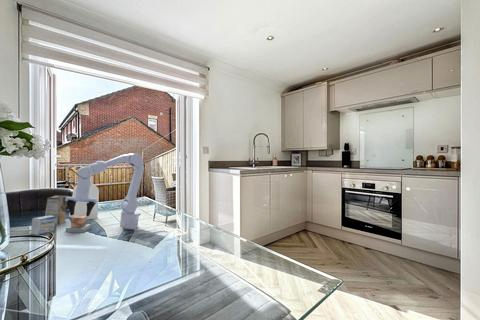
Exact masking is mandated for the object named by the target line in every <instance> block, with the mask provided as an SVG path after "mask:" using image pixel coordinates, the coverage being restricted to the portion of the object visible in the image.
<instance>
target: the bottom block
mask: <svg viewBox="0 0 480 320" xmlns="http://www.w3.org/2000/svg"><path fill="white" fill-rule="evenodd" d="M87 232H88V230H86V231H84V232H83V233H82V234H85V233H87ZM68 234H81V233H80V232H68Z"/></svg>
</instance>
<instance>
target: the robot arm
mask: <svg viewBox="0 0 480 320" xmlns="http://www.w3.org/2000/svg"><path fill="white" fill-rule="evenodd" d="M143 159H144V158H143V157H142V156H141V155H140V154H138V153H132V152H129V153H125V154H121V155H119V156H115V157H114V158H111V159H109V160H107V161H104V160H96V161H95V162H94V163H93V162H92V163H91V164H86V166H81V167H79V168H78V170H77V171H76V174H77V175H78V177H77V181H76V185H77V188H76V197H72V196H68V197H66V199H65V201H67V202H66V204H67V209H69V212H70V215H74V210H75V205H76V202H77V201H79V202H89V203H87V213H86V216H90V213H91V210H92V208H93V207H94V205H95V204H96V203H97V200H98V199H96V198H89V188H90V177H91V178H92V177H93V175H97V174H99V173H103V172H105V171H107V169H108V168H109V167H112V166H115V165H118V164H121V163H127V164H129V165H131V167H132V169H133V174H132V177H131V181H130V184H129V188H128V189H127V190H128V192H127V195H126V196H125V197H124V200H122V202H121V204H120V207H121V209H122V210H121V213H120V222H119V226H120V227H121V228H122V229H123V230H136V228H137V227H138V226H139V218H140V217H139V216H140V214H139V213H138V212H136V211H137V203H138V199H137V195H138V193H139V188H140V185H141V182H142V178H143V175H144V171H145V166H144V162H143Z"/></svg>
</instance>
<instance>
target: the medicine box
mask: <svg viewBox="0 0 480 320" xmlns="http://www.w3.org/2000/svg"><path fill="white" fill-rule="evenodd" d="M55 227H56V226H55V216H52V215H48V216H45V215H44V216H38V217H33V218H32V219H31V227H30V228H31V229H30V235H35V236H39V235H43V234H47V233H51V232H54V231H55Z"/></svg>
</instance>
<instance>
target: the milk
mask: <svg viewBox="0 0 480 320" xmlns="http://www.w3.org/2000/svg"><path fill="white" fill-rule="evenodd" d="M76 188H77V184H76V185H75V186H74V187H73V190H72V195H71V197H76ZM99 195H100V188H99V187H97V186H96V184H94V183H93V182H92V176H91V177H90V188H89V198H96V199H98V200H97V203H96V204H95V205H94V207H93V208H92V210H91V213H90V216H87V220H93V219H95V220H96V219H98V218H99V217H98V215H99V199H100V198H99V197H100V196H99ZM87 203H89V202H79V201H77V202H76V205H75V210H74V215H70V211H69V214H68V218H70V219H72V217H74V216H76V215H81V216H86V213H87Z"/></svg>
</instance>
